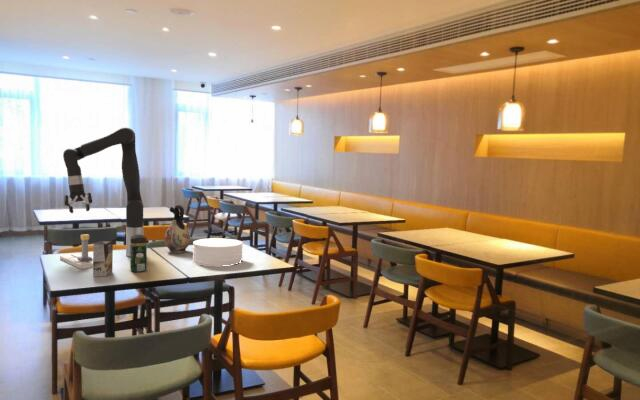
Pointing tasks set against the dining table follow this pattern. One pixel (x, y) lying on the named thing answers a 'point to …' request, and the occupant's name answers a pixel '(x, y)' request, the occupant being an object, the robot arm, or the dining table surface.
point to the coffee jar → (138, 253)
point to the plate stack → (217, 251)
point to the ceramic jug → (177, 232)
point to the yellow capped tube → (84, 248)
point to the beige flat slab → (77, 261)
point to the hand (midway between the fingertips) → (80, 212)
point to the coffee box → (102, 258)
